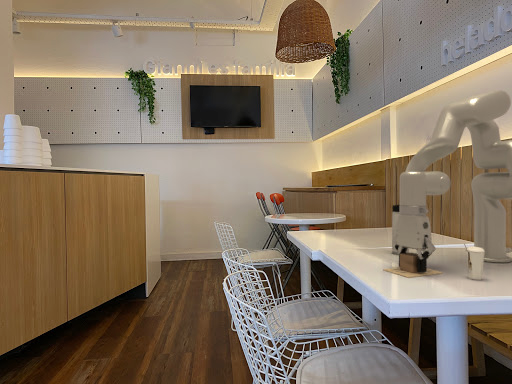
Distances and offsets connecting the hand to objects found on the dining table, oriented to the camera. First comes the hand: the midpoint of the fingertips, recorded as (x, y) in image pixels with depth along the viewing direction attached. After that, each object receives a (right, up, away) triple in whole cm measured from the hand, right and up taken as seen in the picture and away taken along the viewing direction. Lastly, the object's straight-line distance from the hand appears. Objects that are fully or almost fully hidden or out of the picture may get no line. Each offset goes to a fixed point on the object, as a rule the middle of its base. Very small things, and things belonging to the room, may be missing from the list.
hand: (412, 268), depth 104 cm
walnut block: (0, -1, 0) cm, 1 cm away
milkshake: (+14, -1, -8) cm, 16 cm away
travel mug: (+9, -1, +28) cm, 30 cm away
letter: (0, -1, 0) cm, 1 cm away
